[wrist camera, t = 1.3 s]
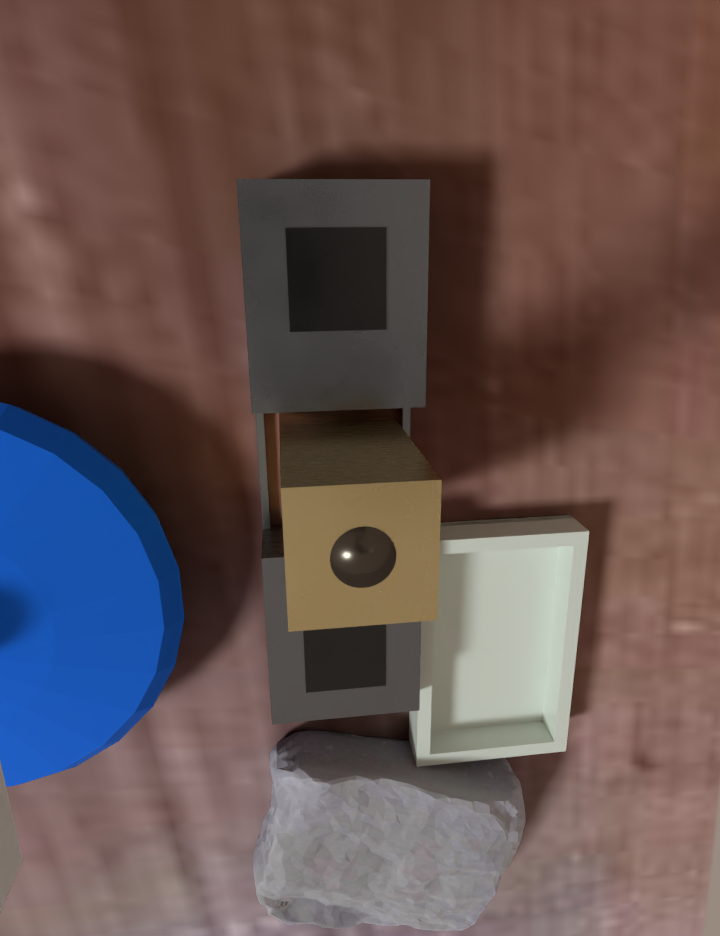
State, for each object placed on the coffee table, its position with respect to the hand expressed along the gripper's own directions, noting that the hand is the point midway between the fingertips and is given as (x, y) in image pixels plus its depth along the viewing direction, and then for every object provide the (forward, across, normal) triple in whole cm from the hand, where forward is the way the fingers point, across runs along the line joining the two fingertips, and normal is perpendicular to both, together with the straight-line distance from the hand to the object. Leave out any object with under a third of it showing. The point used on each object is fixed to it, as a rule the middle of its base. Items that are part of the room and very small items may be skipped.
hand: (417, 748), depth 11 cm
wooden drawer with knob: (+16, 0, 0) cm, 16 cm away
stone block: (+17, +2, -18) cm, 25 cm away
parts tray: (+16, +7, -8) cm, 19 cm away
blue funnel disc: (+16, -14, -4) cm, 22 cm away
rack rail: (+16, 0, 0) cm, 16 cm away
